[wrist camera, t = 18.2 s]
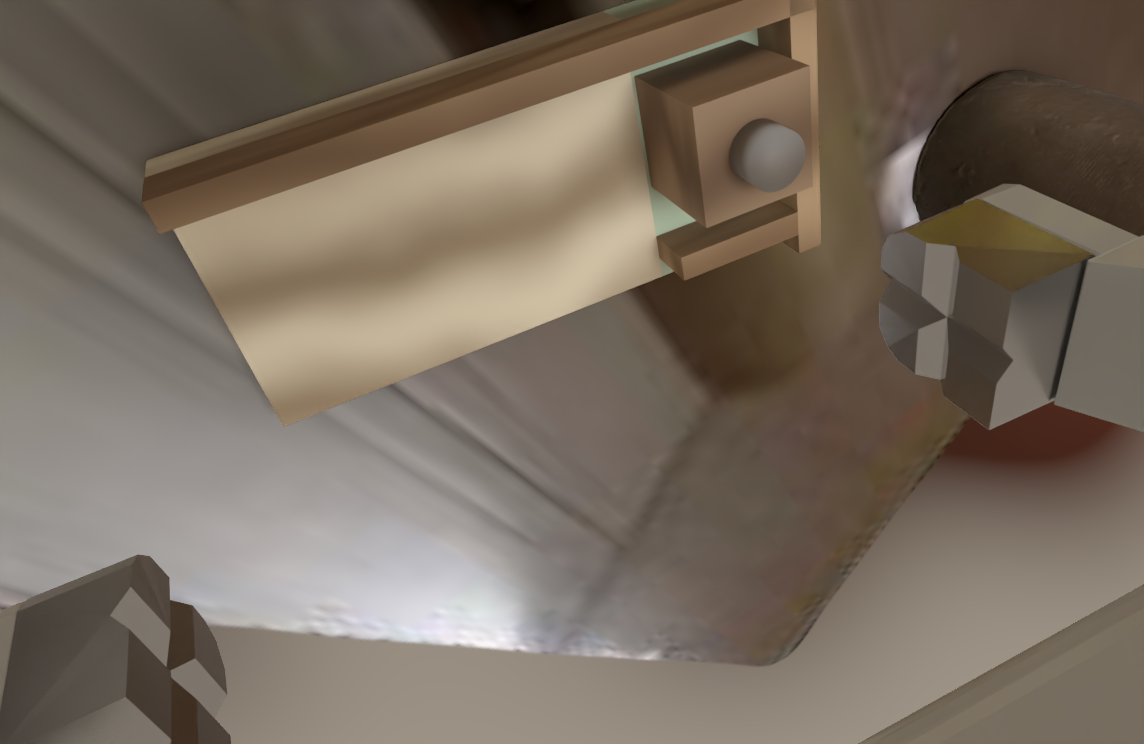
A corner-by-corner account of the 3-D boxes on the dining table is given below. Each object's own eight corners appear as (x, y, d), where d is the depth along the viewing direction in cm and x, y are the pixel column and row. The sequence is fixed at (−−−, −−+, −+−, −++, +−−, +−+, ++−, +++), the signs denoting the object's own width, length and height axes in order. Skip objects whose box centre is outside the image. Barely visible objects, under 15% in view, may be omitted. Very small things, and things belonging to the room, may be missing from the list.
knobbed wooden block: (634, 76, 34) (712, 118, 29) (740, 39, 35) (834, 74, 30) (651, 186, 37) (725, 242, 32) (748, 150, 38) (835, 199, 33)
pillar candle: (882, 209, 45) (1124, 341, 34) (988, 36, 42) (1298, 118, 30) (981, 256, 51) (1220, 385, 39) (1083, 105, 47) (1378, 198, 36)
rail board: (146, 160, 31) (141, 202, 27) (753, -39, 35) (815, -25, 32) (279, 402, 38) (289, 460, 34) (768, 210, 43) (821, 244, 39)
